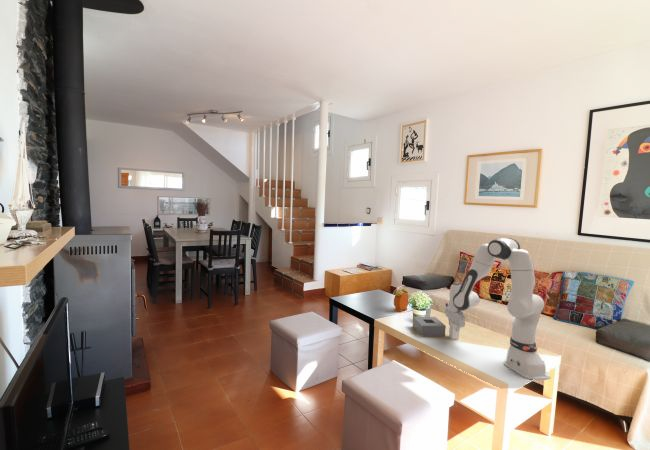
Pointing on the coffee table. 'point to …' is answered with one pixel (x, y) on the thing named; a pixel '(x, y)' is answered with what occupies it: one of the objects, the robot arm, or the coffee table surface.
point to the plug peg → (453, 331)
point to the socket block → (429, 326)
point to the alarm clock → (401, 300)
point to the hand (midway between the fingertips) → (453, 328)
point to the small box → (428, 312)
